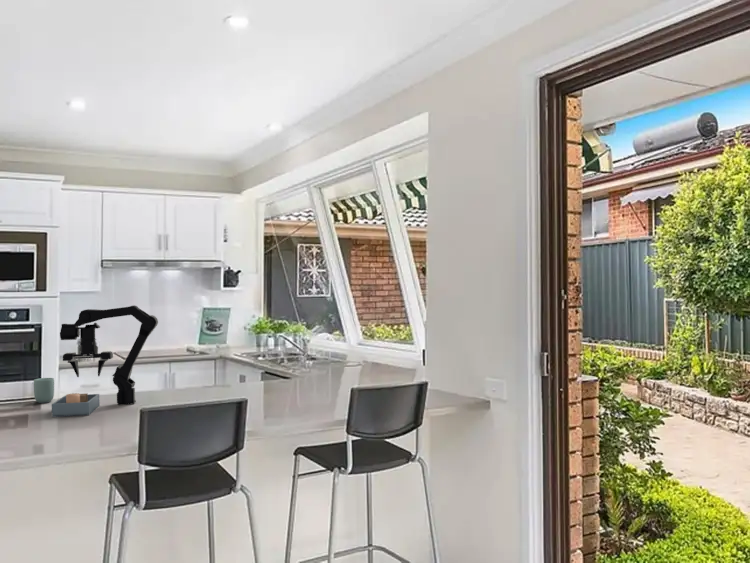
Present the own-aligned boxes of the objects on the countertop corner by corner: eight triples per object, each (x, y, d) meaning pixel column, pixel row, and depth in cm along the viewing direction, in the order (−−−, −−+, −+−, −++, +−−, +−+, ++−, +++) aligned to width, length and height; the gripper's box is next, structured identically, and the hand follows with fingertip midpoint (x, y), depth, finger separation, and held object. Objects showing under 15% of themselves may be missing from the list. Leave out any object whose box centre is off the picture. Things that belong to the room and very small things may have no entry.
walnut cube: (85, 407, 274) (84, 395, 274) (71, 408, 273) (71, 396, 273) (87, 405, 278) (87, 393, 278) (74, 406, 277) (74, 394, 277)
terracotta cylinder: (78, 413, 263) (78, 395, 263) (64, 413, 262) (64, 395, 262) (81, 410, 268) (81, 393, 268) (68, 411, 267) (67, 393, 267)
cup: (46, 404, 287) (45, 380, 287) (30, 403, 289) (29, 380, 288) (58, 400, 295) (57, 377, 295) (42, 400, 296) (42, 377, 296)
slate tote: (99, 405, 281) (99, 393, 281) (88, 415, 262) (88, 402, 262) (65, 407, 278) (64, 395, 278) (51, 417, 259) (51, 404, 259)
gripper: (115, 337, 292) (115, 373, 292) (69, 338, 289) (69, 374, 289) (109, 339, 281) (110, 376, 281) (62, 340, 278) (62, 378, 278)
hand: (88, 376), depth 283 cm, fingers open, 8 cm apart
